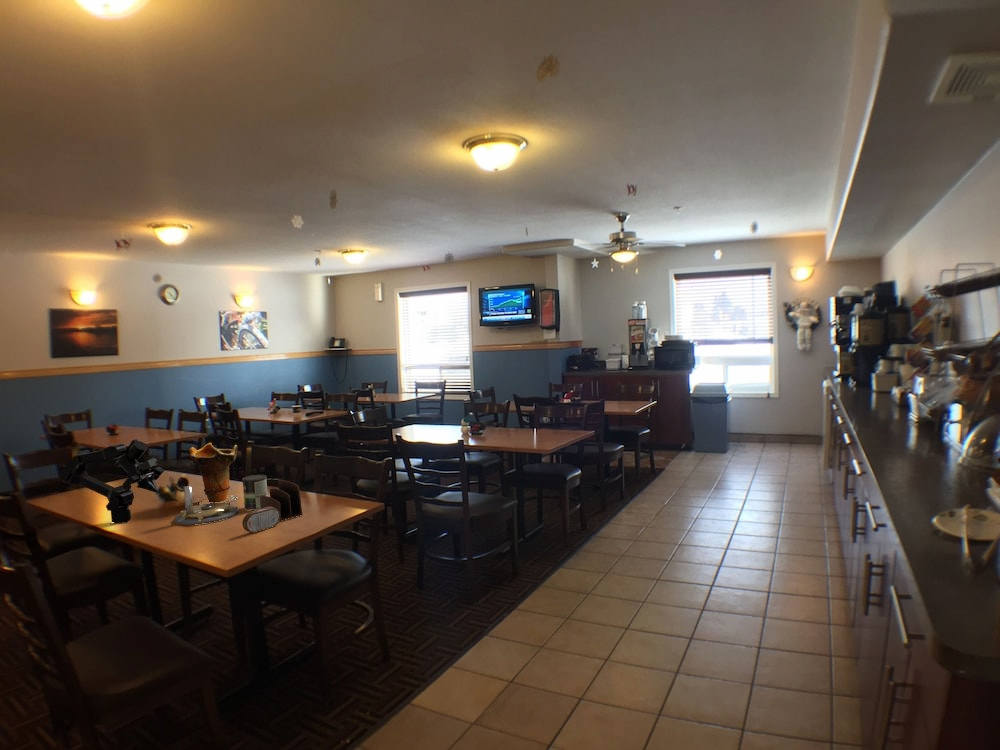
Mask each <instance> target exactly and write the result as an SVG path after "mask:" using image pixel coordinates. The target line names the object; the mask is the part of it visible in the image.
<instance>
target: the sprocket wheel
mask: <svg viewBox="0 0 1000 750" xmlns="http://www.w3.org/2000/svg"><path fill="white" fill-rule="evenodd" d="M192 488H193V486H192V485H187V486H183V493H184V507H185V509H184V510H181V511H179V514H180V515H182V519H187V518H198V519H203V518H205V517H211V516H216V515H218V516H219V515H222V514H223V513H225V512H227V511H228V510H232V509H233V506H234V505H233V506H230V505H231V503H230V502H227V503H215V502H213V503H210V504H204V505H194V499H193V489H192Z"/></svg>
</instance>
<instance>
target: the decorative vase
mask: <svg viewBox="0 0 1000 750" xmlns="http://www.w3.org/2000/svg"><path fill="white" fill-rule="evenodd" d="M212 444H213V443H212V442H208V443H206V444H205V445H203V447H201V448H199V449H196V448H195V447H194V446H192V447H190V448H189V457H190V460H191V461H192V463H193V465H195V466H196V467H198V469H199V472H200V474H201V477H202V481H203V486H204V489H203V492H204V495H206V497H207V498H206V499H208V500H209V502H221V501H224V500H227V498H228V496H229V490H230V489H231V486H230V466H231V464H232V463H234V462H235V460H236V458H237V454H238V445H237V444H234V446H233V448H232V449H231V448H216V447H214V445H212ZM235 496H236V495H231V497H233V498H232V499H231V500H229V501H226V502H228V503H230V502H233V501H236V500H237V499H238V496H237V497H235ZM236 498H237V499H236ZM202 500H205V499H204V498H203V499H202ZM222 503H225V502H222ZM203 505H204V504H203Z"/></svg>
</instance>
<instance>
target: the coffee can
mask: <svg viewBox="0 0 1000 750" xmlns="http://www.w3.org/2000/svg"><path fill="white" fill-rule="evenodd" d="M267 481H268V480H267V475H266V474H253V475H248V476H245V477H243V478H242V490H243V492H242V493H243V505H244V510H245V511H247V510H258V509H261V507H260V497H261V496H268V497H269V495H268V485H267V483H268V482H267Z"/></svg>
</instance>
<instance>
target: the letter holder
mask: <svg viewBox="0 0 1000 750" xmlns="http://www.w3.org/2000/svg"><path fill="white" fill-rule="evenodd" d="M277 483H278V488H275V487H270V488H269V491H268V492H269V495H268V496H261V497H260V507H261V509H262V508H266V507H274V508H276V509H277V510H278V511H279V512H280V521H279V522H282V521H281V520H284V521H286V520H285V519H288V518H292V517H295V518H297V517H296V516H299V517H301V516H300V515H302V516H303V509H302V507H303V506H302V500H301V492H300V490H301V489H300V486H299V485H298V484H296V483H295V482H292V481H290V480H286V479H279V480H278V482H277ZM292 519H293V518H292ZM288 520H289V519H288Z"/></svg>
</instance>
